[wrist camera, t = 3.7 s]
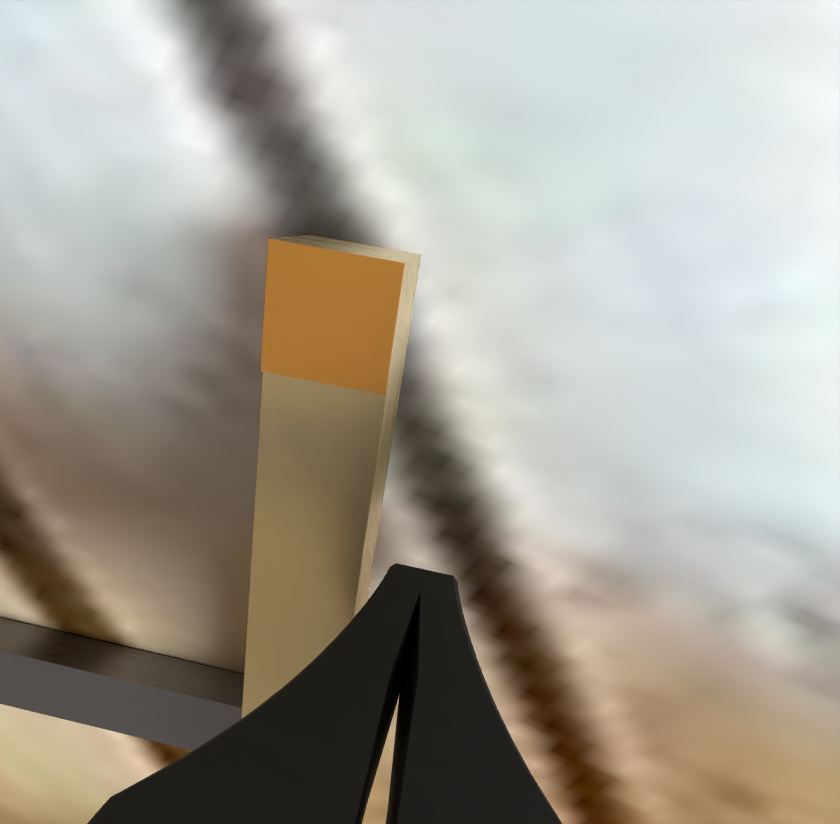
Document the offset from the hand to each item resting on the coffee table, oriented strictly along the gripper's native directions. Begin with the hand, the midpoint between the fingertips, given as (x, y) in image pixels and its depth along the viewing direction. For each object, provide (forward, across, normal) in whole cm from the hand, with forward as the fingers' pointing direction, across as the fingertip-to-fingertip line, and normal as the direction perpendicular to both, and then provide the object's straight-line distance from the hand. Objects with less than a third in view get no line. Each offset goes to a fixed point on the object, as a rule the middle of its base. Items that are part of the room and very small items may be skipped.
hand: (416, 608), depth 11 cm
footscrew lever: (+2, +2, 0) cm, 3 cm away
